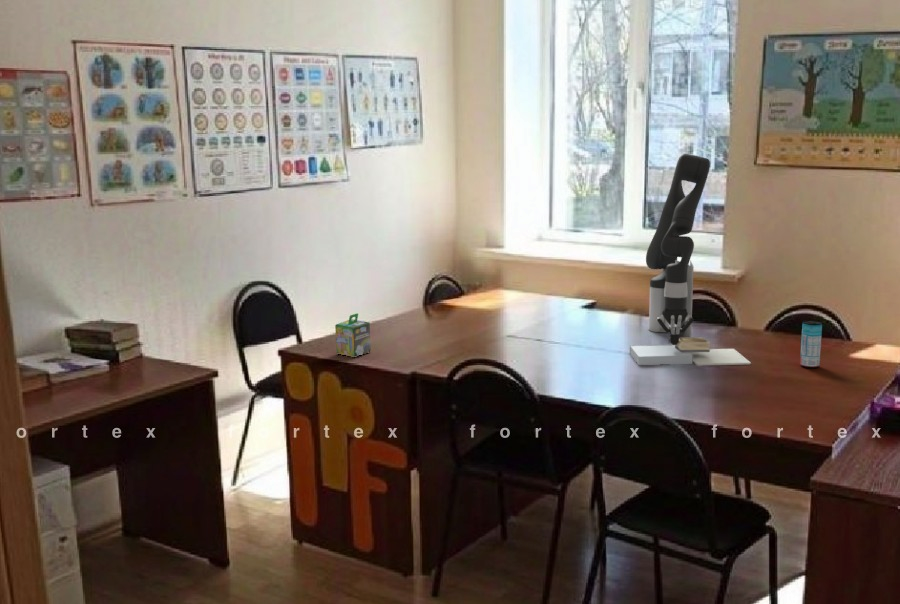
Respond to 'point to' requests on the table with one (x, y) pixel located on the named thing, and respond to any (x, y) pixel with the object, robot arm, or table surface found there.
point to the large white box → (659, 355)
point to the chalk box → (353, 337)
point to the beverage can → (811, 343)
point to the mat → (719, 357)
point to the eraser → (693, 344)
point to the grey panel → (688, 298)
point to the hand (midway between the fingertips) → (673, 344)
